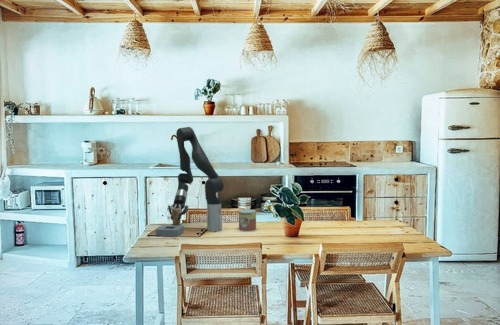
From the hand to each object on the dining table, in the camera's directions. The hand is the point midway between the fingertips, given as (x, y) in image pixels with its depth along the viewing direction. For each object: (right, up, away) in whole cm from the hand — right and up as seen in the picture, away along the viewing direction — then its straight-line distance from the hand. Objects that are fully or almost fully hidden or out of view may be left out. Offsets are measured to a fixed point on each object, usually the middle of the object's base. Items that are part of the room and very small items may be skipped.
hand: (175, 219), depth 286 cm
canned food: (+46, -7, +1) cm, 47 cm away
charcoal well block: (-2, -8, -9) cm, 12 cm away
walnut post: (0, -4, +2) cm, 5 cm away
